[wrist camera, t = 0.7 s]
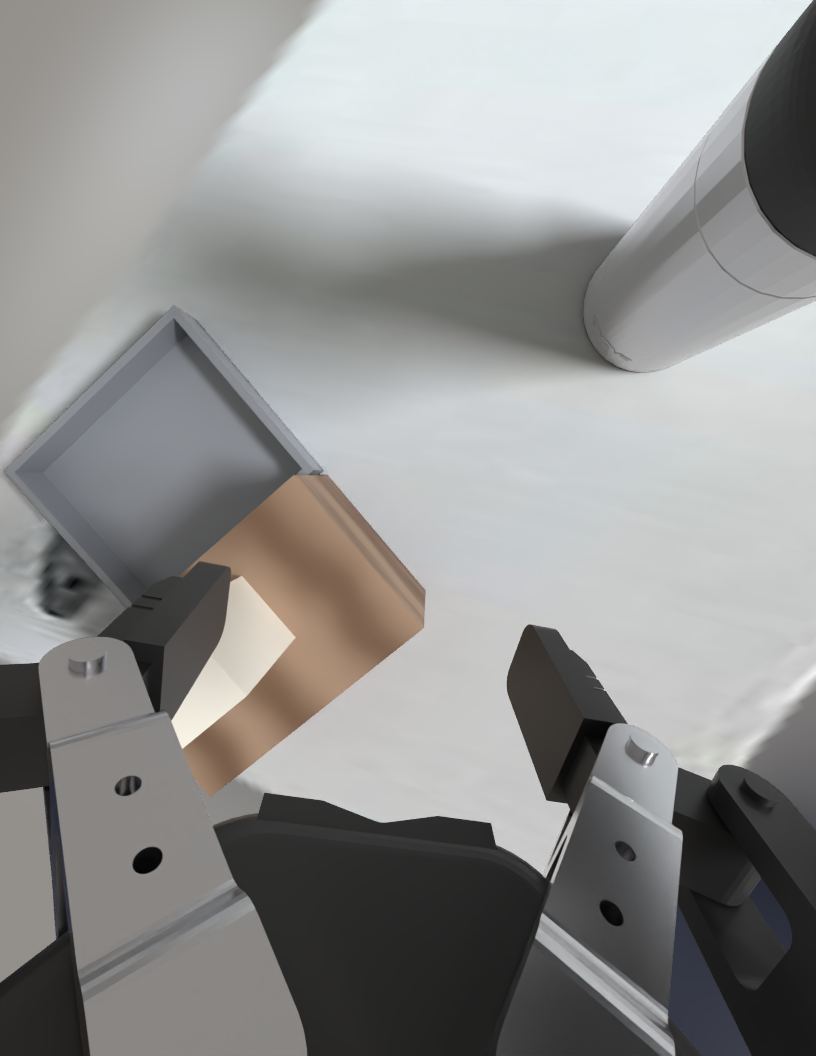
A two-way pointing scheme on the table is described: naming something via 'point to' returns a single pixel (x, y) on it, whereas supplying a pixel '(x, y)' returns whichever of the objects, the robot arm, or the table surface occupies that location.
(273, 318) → the table surface
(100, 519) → the box
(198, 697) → the cream block
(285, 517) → the walnut platform
